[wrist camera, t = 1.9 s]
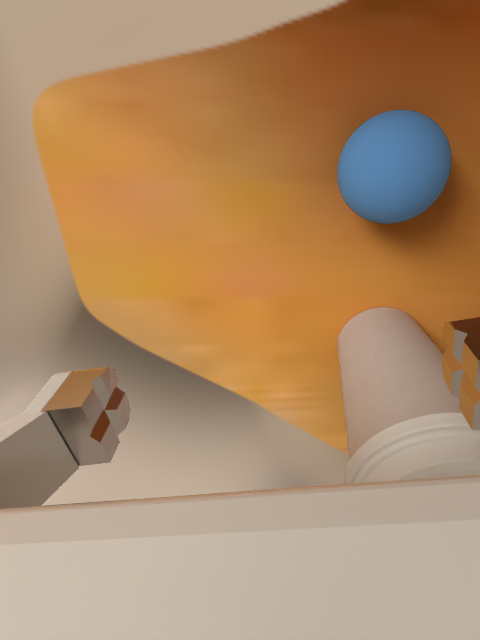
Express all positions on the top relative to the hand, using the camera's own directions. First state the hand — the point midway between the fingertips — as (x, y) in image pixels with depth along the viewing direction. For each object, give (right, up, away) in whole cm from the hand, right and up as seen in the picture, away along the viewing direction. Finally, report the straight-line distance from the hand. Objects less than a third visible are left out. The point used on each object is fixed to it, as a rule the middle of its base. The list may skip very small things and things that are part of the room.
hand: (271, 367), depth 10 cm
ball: (+8, +10, +13) cm, 18 cm away
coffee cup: (+10, 0, +23) cm, 25 cm away
